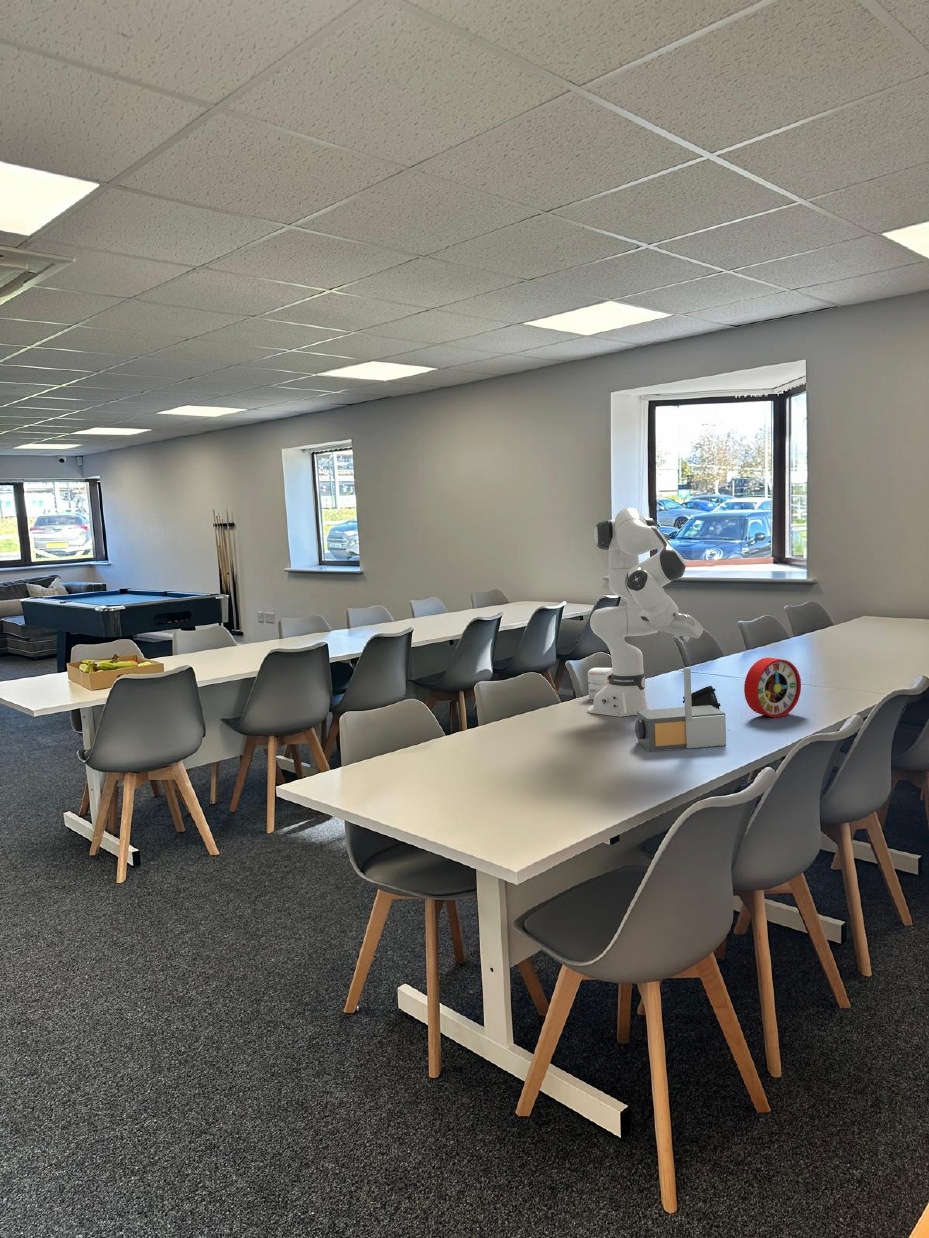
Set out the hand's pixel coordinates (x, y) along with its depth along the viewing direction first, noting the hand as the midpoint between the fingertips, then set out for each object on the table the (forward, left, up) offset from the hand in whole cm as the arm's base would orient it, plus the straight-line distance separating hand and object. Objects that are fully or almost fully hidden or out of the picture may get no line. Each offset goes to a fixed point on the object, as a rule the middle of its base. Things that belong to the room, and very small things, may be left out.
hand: (685, 639), depth 267 cm
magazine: (+1, +12, -32) cm, 34 cm away
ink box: (-52, +50, -32) cm, 79 cm away
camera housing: (0, -7, -32) cm, 33 cm away
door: (+8, -9, -31) cm, 34 cm away
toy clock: (+17, +39, -32) cm, 53 cm away
